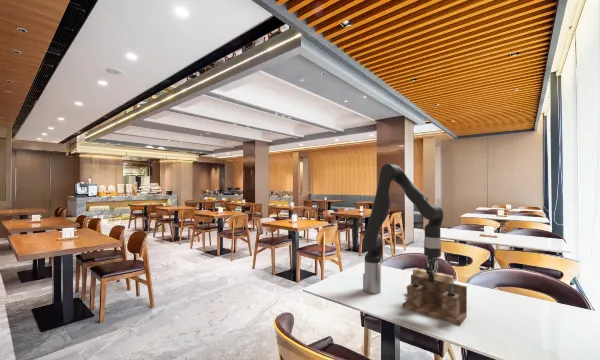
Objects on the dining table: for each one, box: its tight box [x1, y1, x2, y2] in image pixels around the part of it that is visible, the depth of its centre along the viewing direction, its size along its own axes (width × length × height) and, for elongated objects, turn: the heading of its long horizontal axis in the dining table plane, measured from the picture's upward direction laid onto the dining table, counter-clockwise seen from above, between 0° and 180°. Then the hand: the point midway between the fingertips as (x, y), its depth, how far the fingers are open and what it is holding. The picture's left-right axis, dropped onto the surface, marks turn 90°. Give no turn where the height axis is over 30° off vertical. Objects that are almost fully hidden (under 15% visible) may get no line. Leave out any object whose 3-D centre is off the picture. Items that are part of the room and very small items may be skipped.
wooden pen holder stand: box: [402, 274, 468, 326], centre depth 138 cm, size 26×12×14 cm, turn 48°
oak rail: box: [412, 267, 455, 294], centre depth 137 cm, size 18×3×8 cm, turn 48°
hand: (432, 281), depth 137 cm, fingers closed on oak rail, 3 cm apart
